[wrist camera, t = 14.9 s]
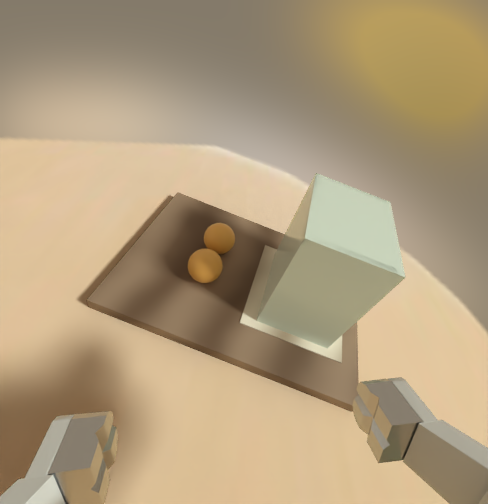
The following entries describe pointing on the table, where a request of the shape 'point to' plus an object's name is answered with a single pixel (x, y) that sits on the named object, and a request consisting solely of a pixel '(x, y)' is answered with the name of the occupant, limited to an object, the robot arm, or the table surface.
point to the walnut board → (221, 302)
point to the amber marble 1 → (219, 238)
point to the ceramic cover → (332, 263)
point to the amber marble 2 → (205, 265)
